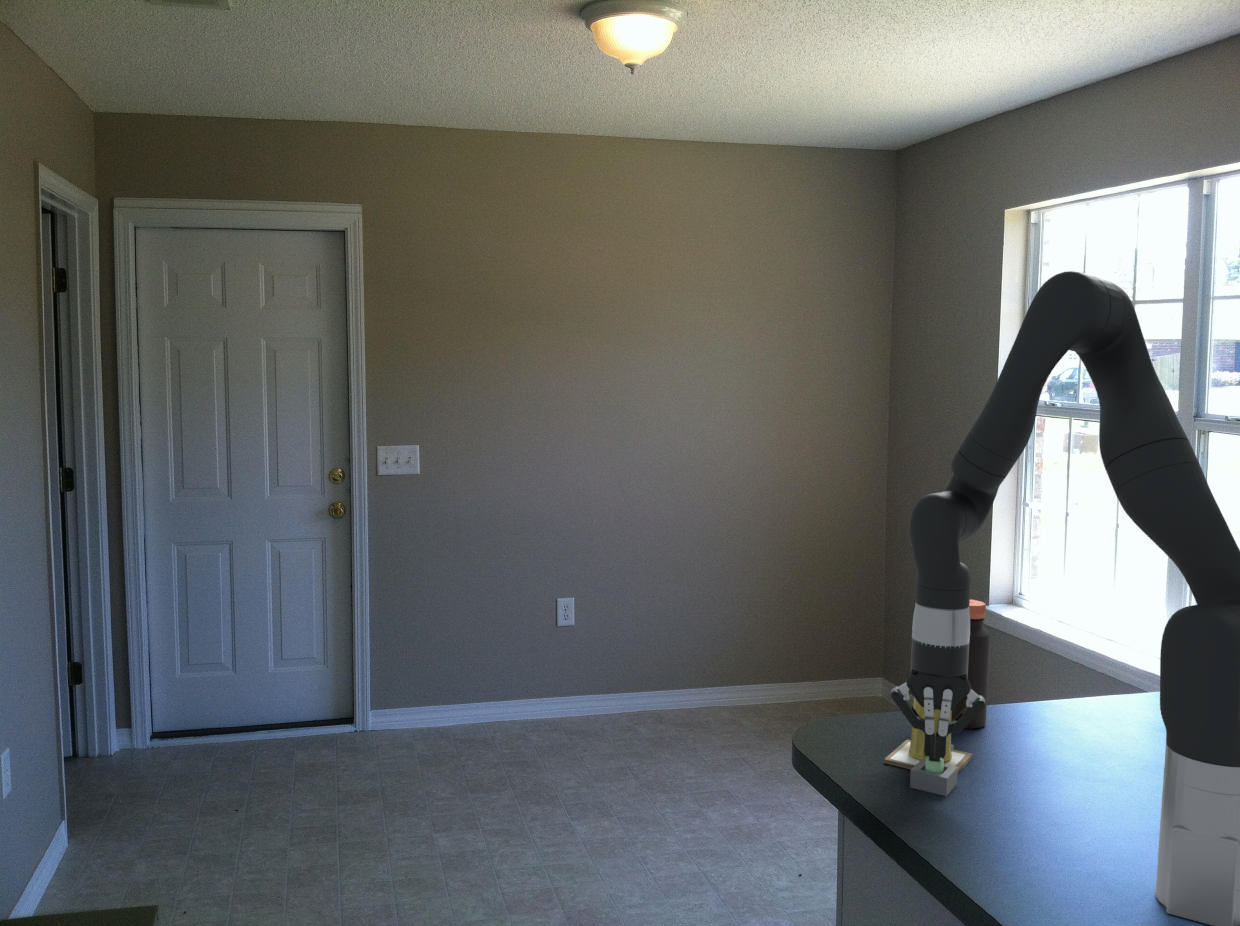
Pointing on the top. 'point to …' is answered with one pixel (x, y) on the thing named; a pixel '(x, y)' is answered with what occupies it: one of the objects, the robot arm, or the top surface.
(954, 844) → the top surface
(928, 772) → the button housing
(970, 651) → the bottle
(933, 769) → the button
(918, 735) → the vase
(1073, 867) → the top surface
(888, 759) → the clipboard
